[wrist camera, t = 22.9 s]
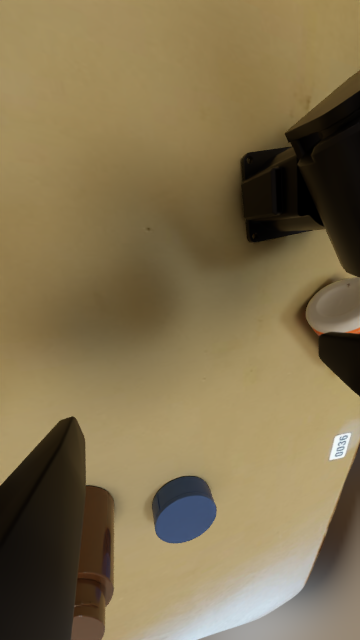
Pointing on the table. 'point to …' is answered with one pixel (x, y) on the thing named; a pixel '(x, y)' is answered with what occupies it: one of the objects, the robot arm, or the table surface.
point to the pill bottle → (336, 308)
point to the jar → (94, 566)
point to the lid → (183, 509)
